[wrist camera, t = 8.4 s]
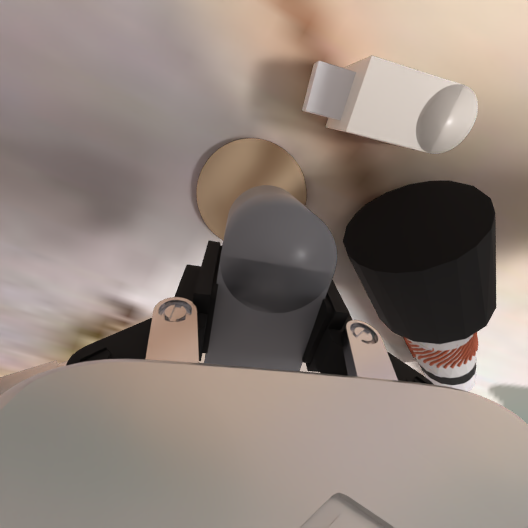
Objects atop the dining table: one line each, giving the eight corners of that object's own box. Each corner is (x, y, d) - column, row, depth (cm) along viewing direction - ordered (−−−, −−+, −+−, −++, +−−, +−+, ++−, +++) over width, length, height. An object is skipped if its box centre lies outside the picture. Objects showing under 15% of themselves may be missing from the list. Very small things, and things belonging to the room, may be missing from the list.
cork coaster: (319, 153, 22) (321, 154, 21) (289, 252, 27) (290, 255, 26) (203, 125, 20) (201, 125, 20) (193, 236, 25) (192, 239, 25)
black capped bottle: (412, 352, 44) (417, 416, 38) (348, 202, 25) (337, 281, 19) (487, 355, 38) (507, 431, 32) (476, 164, 20) (517, 259, 14)
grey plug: (233, 177, 12) (230, 194, 8) (312, 194, 13) (353, 218, 8) (206, 353, 16) (193, 431, 12) (266, 359, 17) (276, 435, 12)
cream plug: (439, 97, 20) (491, 93, 16) (414, 150, 22) (454, 159, 18) (310, 57, 18) (330, 42, 14) (295, 119, 20) (308, 121, 16)
